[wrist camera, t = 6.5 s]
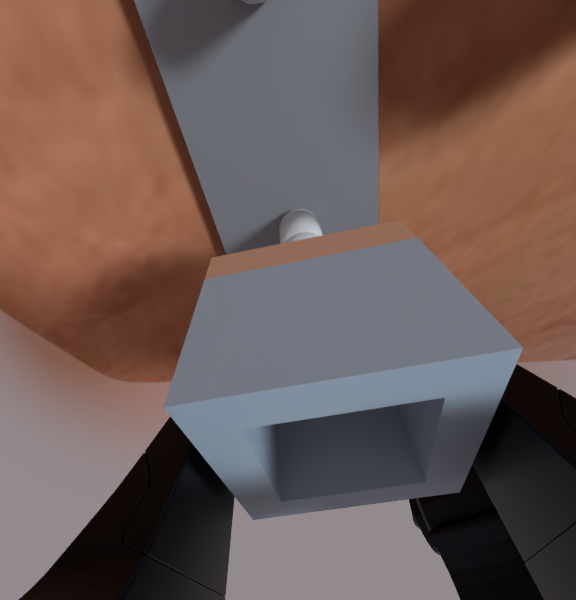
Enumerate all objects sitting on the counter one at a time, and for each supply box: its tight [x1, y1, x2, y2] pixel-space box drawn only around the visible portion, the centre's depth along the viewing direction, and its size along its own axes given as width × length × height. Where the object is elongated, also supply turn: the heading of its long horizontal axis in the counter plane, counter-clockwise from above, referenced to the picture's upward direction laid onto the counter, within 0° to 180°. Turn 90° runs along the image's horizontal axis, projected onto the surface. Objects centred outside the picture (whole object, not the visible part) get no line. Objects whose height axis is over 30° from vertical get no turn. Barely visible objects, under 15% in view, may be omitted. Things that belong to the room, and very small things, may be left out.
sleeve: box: [164, 220, 523, 520], centre depth 8 cm, size 6×6×5 cm
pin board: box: [134, 0, 379, 255], centre depth 12 cm, size 18×9×5 cm, turn 11°
